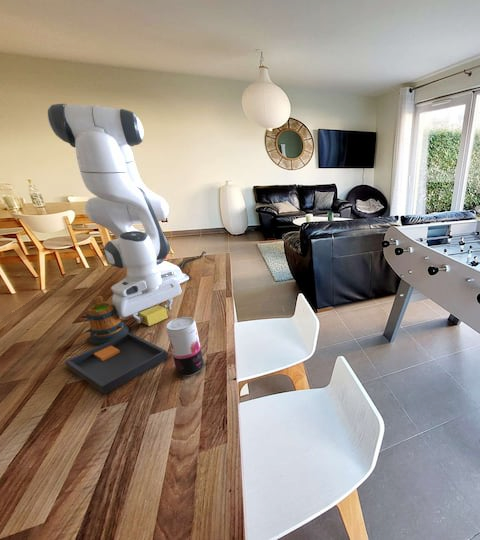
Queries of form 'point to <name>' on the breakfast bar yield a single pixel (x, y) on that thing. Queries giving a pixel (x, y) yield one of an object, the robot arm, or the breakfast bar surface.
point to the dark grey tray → (117, 362)
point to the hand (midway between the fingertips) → (154, 315)
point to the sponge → (153, 315)
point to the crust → (106, 353)
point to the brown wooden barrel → (104, 322)
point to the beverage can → (185, 346)
